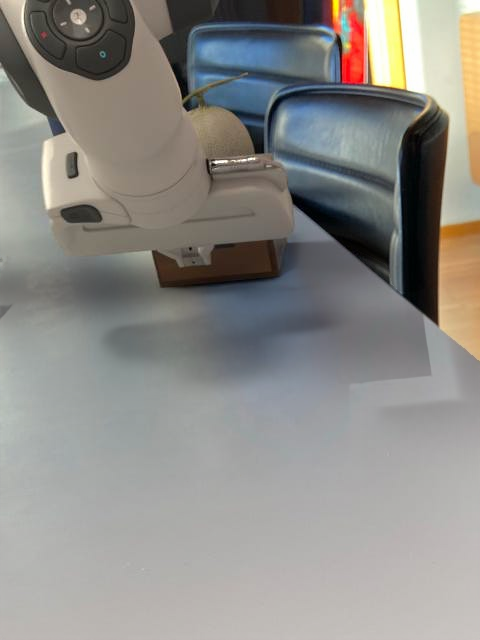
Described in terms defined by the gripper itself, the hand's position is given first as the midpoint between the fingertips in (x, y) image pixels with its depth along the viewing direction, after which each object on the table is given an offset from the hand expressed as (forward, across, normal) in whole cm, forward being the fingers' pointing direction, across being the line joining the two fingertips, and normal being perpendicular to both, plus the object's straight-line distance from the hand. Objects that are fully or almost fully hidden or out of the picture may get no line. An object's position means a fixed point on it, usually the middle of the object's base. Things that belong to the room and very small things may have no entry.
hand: (195, 258), depth 95 cm
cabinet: (+17, 0, -9) cm, 19 cm away
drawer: (+14, 0, -7) cm, 15 cm away
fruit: (+38, +4, -30) cm, 49 cm away
